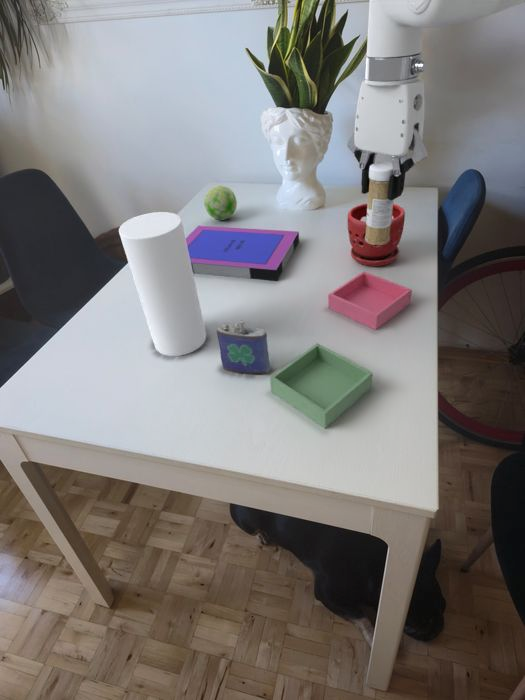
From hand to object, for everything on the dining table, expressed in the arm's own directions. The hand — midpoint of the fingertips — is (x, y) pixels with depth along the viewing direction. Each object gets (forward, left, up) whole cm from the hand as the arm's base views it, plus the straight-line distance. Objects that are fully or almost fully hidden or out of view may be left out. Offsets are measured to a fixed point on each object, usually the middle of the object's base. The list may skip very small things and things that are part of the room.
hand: (381, 193), depth 75 cm
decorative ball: (+65, -13, -26) cm, 71 cm away
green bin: (-7, +24, -25) cm, 35 cm away
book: (+43, +1, -26) cm, 50 cm away
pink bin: (+2, -2, -25) cm, 26 cm away
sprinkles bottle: (0, 0, -9) cm, 9 cm away
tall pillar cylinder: (+24, +32, -26) cm, 47 cm away
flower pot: (+14, -20, -26) cm, 36 cm away
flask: (+7, +29, -26) cm, 39 cm away
